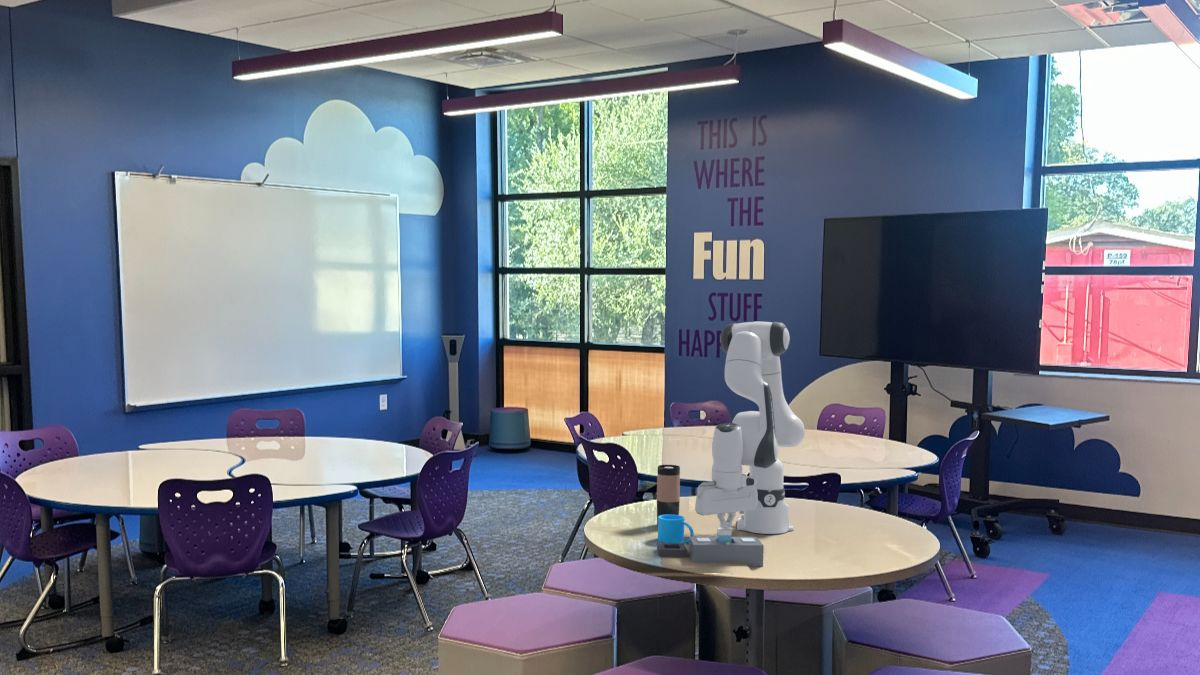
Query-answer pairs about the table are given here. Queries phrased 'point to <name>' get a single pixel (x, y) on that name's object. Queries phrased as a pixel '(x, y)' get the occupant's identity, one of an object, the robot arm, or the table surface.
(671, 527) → the mug
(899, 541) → the table surface
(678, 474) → the travel mug
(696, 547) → the panel
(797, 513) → the table surface
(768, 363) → the robot arm
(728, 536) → the plug
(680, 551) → the holster
